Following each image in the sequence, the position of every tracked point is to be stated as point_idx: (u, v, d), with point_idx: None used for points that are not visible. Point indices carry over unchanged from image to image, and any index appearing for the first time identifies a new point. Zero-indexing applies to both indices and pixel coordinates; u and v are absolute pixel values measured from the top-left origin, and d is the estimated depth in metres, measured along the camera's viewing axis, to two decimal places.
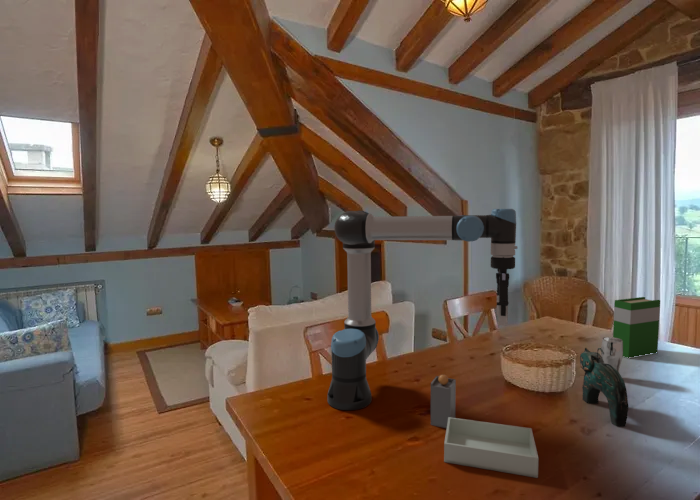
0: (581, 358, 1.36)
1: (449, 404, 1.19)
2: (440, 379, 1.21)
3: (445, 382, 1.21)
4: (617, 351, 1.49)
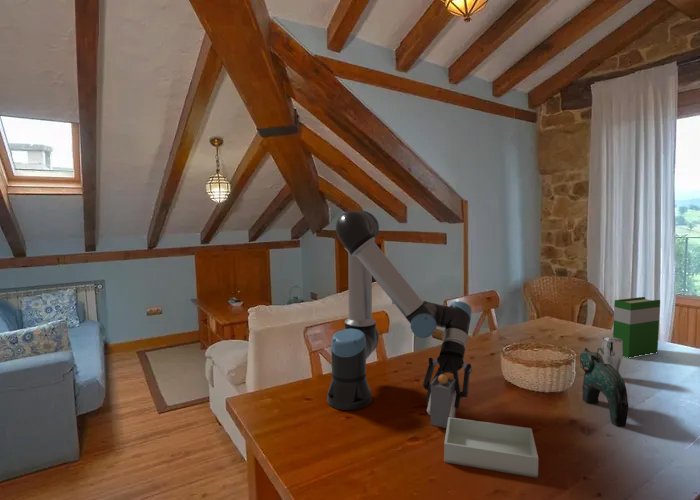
0: (581, 358, 1.36)
1: (449, 404, 1.19)
2: (440, 378, 1.21)
3: (445, 381, 1.21)
4: (617, 351, 1.49)
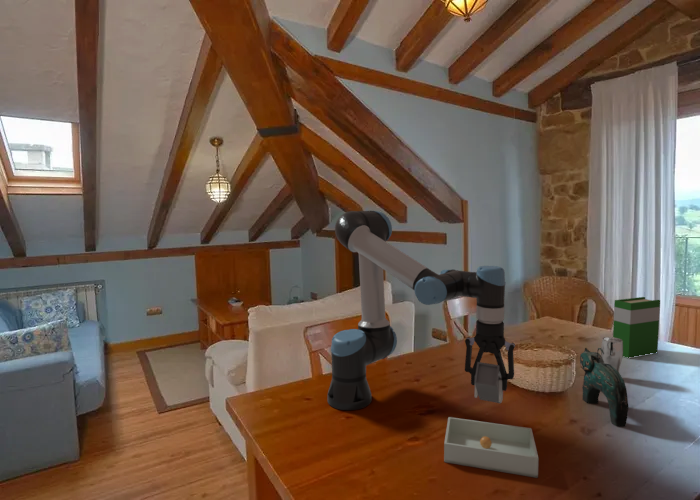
0: (581, 358, 1.36)
1: (497, 393, 1.14)
2: (481, 438, 1.08)
3: (482, 445, 1.07)
4: (617, 351, 1.49)
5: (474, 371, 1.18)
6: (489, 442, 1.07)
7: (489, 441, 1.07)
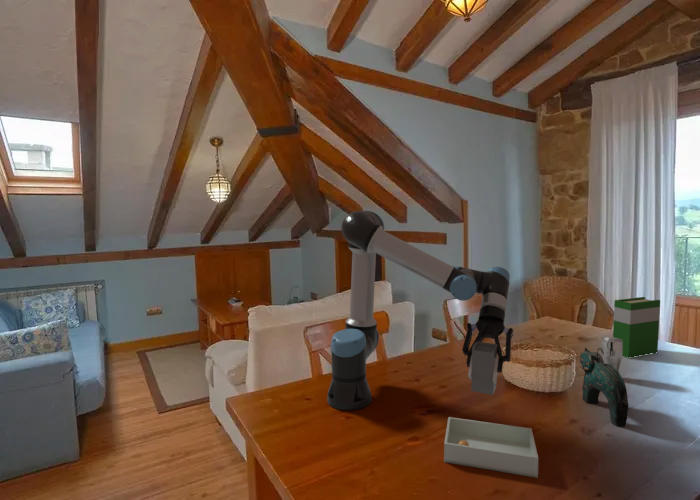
0: (581, 358, 1.36)
1: (492, 369, 1.14)
2: None
3: None
4: (617, 351, 1.49)
5: (471, 350, 1.20)
6: None
7: None
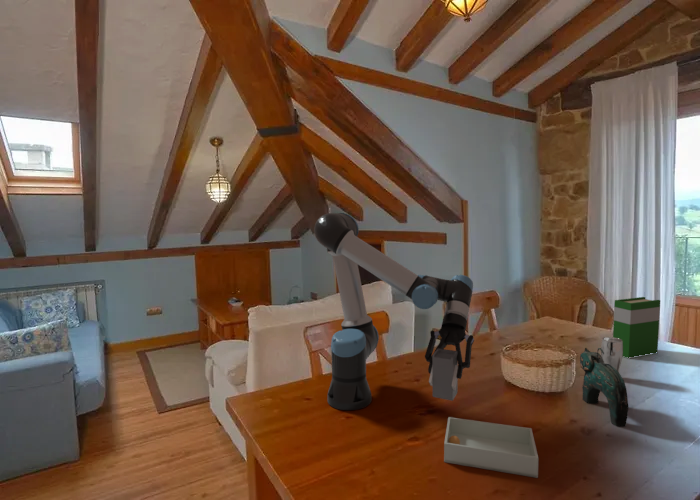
0: (581, 358, 1.36)
1: (451, 375, 1.18)
2: None
3: (456, 437, 1.09)
4: (617, 351, 1.49)
5: None
6: None
7: None
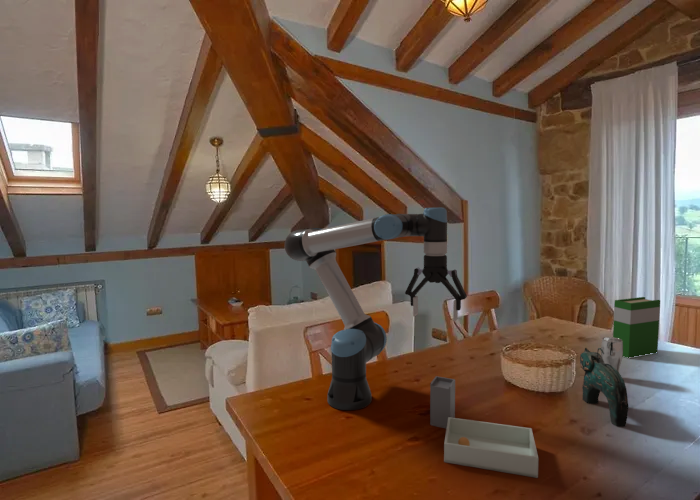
0: (581, 358, 1.36)
1: (449, 404, 1.19)
2: None
3: None
4: (617, 351, 1.49)
5: (413, 294, 1.37)
6: None
7: None
